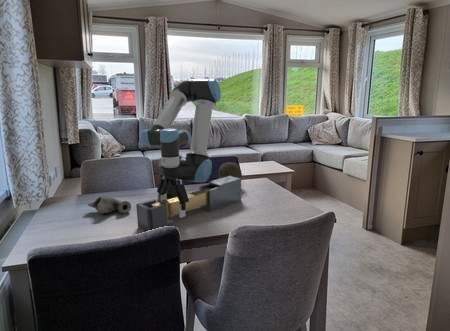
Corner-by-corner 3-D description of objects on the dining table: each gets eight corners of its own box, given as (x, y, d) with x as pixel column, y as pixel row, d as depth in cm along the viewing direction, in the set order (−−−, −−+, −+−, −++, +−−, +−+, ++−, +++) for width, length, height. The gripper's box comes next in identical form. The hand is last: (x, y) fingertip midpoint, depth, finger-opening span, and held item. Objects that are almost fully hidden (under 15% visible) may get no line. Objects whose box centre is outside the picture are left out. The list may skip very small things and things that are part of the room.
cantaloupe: (247, 187, 188) (247, 162, 184) (230, 193, 178) (230, 167, 175) (229, 182, 198) (229, 158, 194) (212, 188, 188) (212, 162, 184)
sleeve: (199, 207, 159) (199, 184, 156) (230, 196, 173) (230, 175, 170) (210, 211, 153) (210, 187, 150) (241, 200, 167) (241, 178, 164)
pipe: (112, 224, 160) (83, 215, 150) (114, 207, 164) (87, 198, 155) (132, 214, 151) (102, 204, 141) (133, 196, 156) (105, 186, 146)
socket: (138, 227, 137) (136, 204, 134) (155, 221, 142) (153, 198, 140) (150, 234, 130) (148, 210, 128) (167, 228, 136) (166, 204, 133)
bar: (150, 217, 138) (149, 203, 137) (206, 199, 160) (206, 187, 158) (158, 222, 134) (157, 207, 132) (215, 202, 156) (215, 189, 154)
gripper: (147, 162, 143) (150, 207, 149) (181, 172, 126) (183, 223, 131) (161, 159, 148) (164, 203, 154) (196, 169, 131) (197, 218, 136)
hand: (173, 212), depth 142 cm, fingers open, 13 cm apart
